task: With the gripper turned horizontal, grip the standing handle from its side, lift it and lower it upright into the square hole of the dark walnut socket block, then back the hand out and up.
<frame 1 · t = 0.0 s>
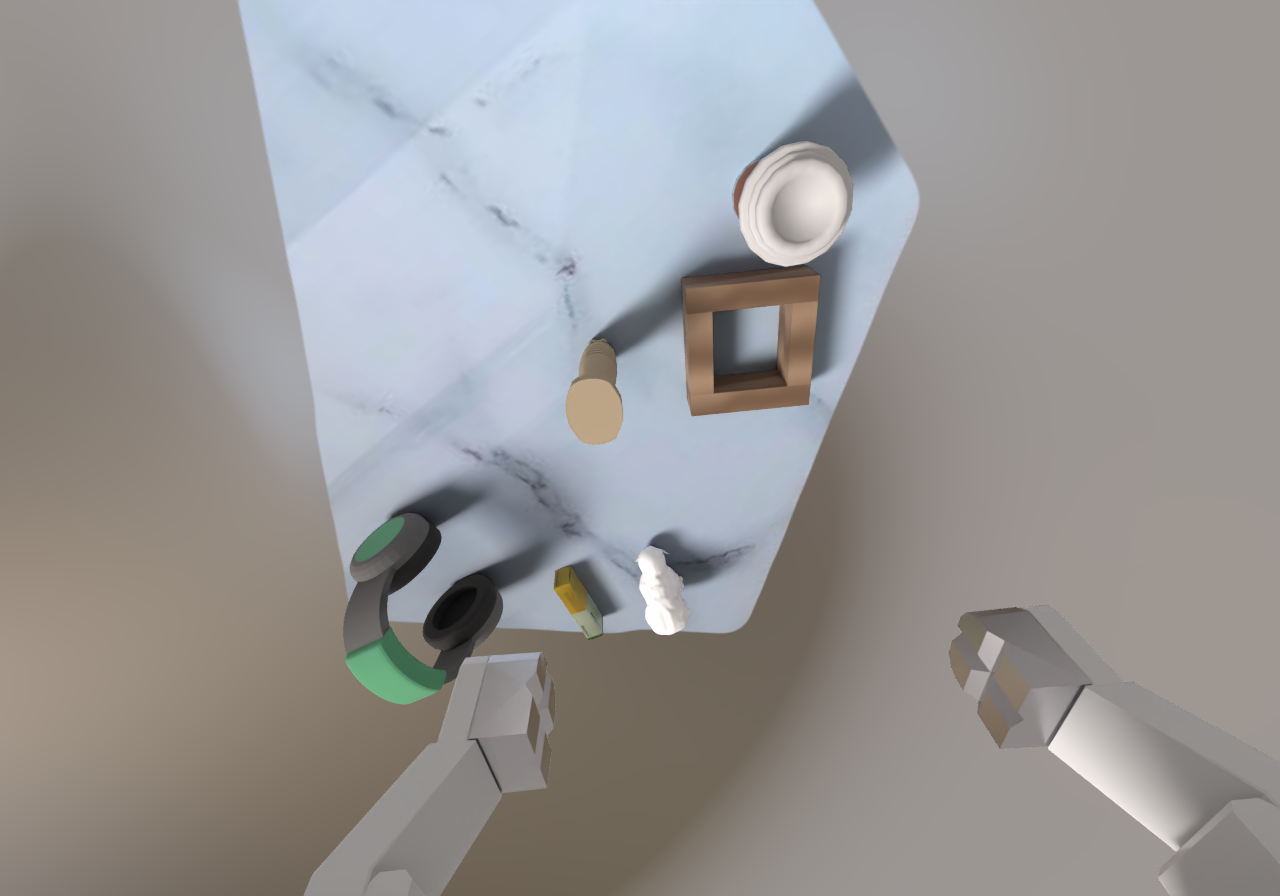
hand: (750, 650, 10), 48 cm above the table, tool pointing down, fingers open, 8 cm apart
coffee cup: (764, 194, 50), on the table
medication box: (580, 591, 77), on the table
headphones: (444, 555, 72), on the table
white lumpy rounded piece: (657, 565, 75), on the table
handle: (599, 350, 57), on the table
socket block: (742, 336, 57), on the table
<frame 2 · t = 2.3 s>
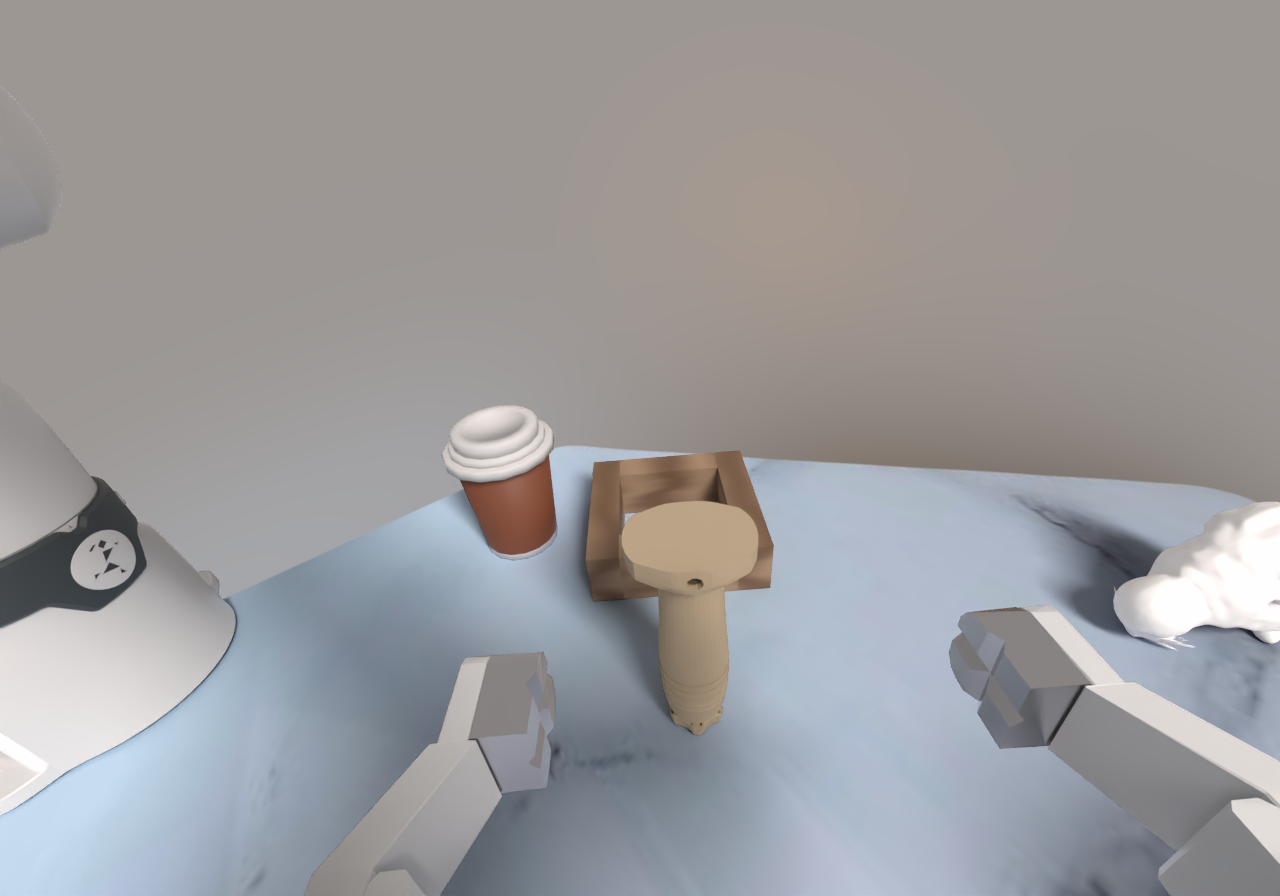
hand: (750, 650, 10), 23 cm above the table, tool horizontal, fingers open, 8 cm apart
coffee cup: (523, 536, 48), on the table
white lumpy rounded piece: (1182, 622, 35), on the table
handle: (695, 713, 32), on the table
socket block: (674, 538, 46), on the table
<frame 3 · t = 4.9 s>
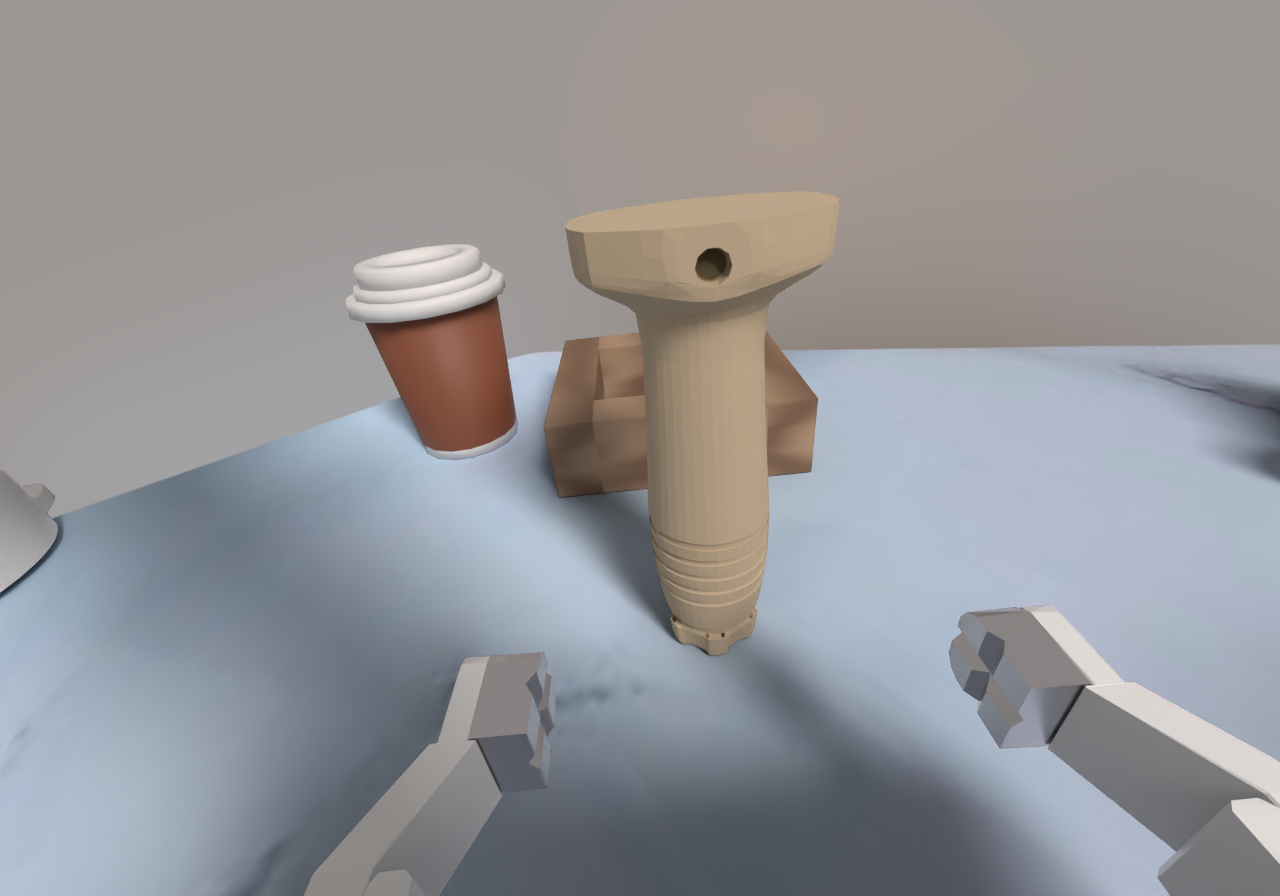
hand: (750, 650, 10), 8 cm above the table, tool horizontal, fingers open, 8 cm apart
coffee cup: (472, 437, 36), on the table
handle: (712, 627, 20), on the table
socket block: (673, 427, 34), on the table
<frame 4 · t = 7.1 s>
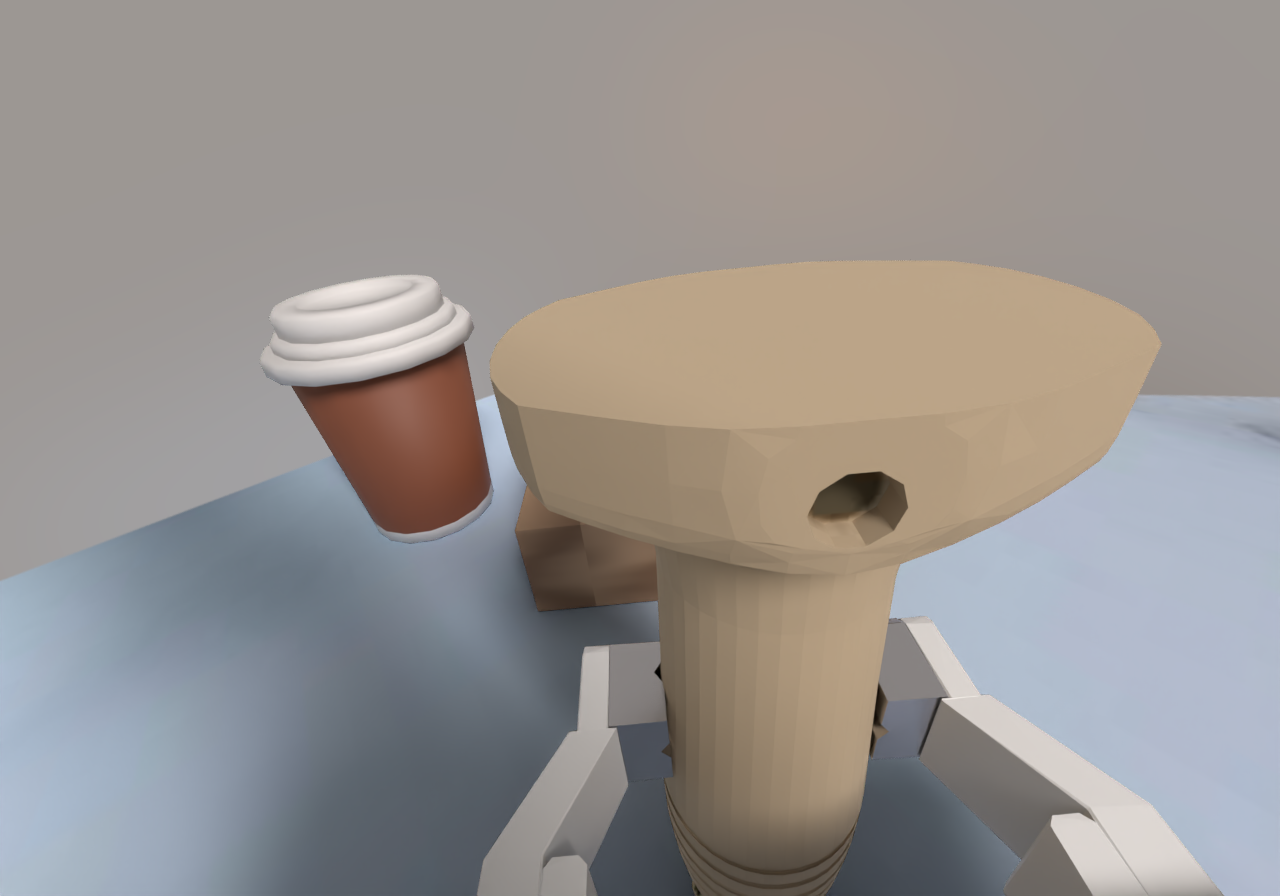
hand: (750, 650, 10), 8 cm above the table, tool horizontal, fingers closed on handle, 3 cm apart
coffee cup: (437, 507, 29), on the table
handle: (752, 875, 14), on the table, touching gripper
socket block: (684, 502, 27), on the table
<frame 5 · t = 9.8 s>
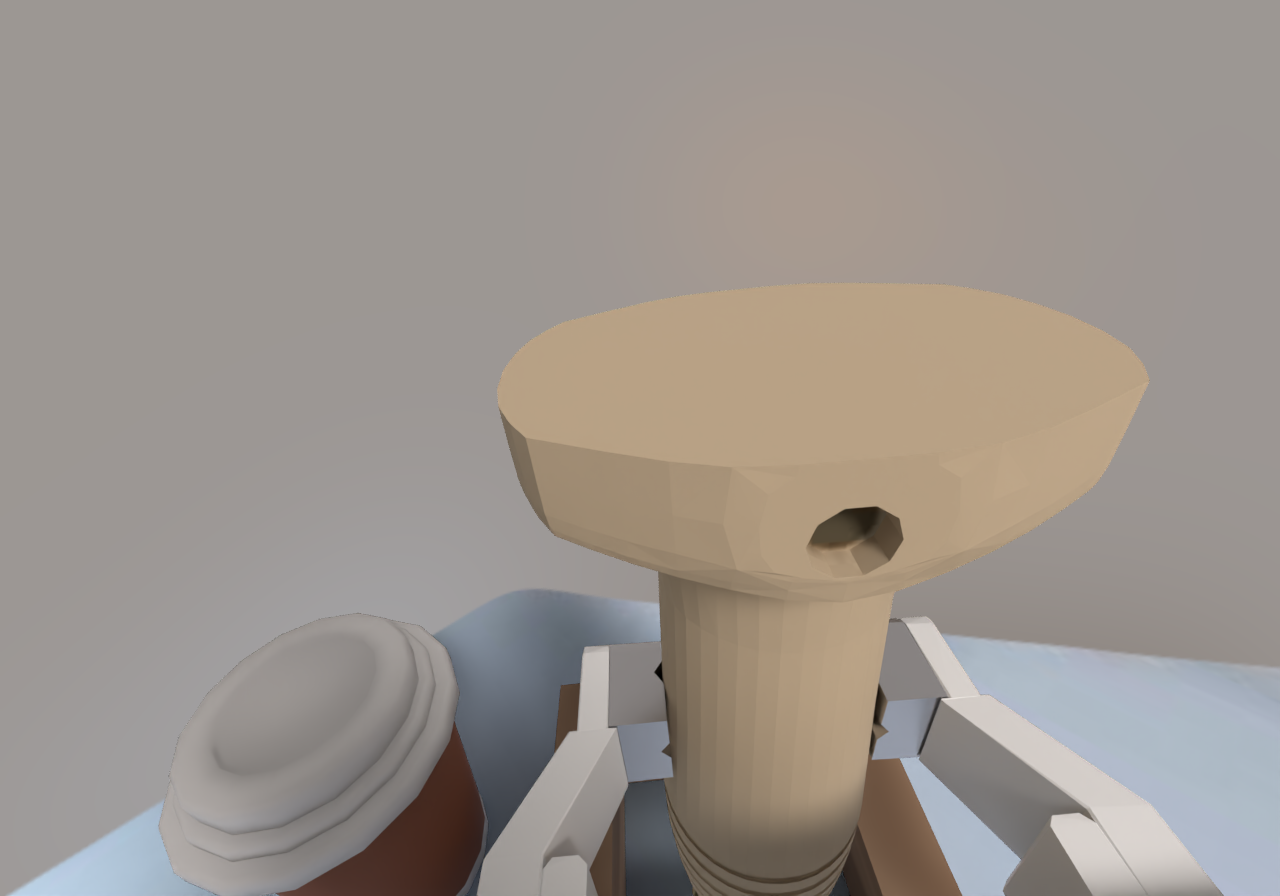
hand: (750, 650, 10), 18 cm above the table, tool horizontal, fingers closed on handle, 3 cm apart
coffee cup: (418, 853, 23), on the table
handle: (751, 881, 14), point 9 cm above the table, touching gripper
socket block: (733, 877, 21), on the table
when the fingers open (9 cm above the table, at t = 12.6 s): handle drops 1 cm, resting in socket block.
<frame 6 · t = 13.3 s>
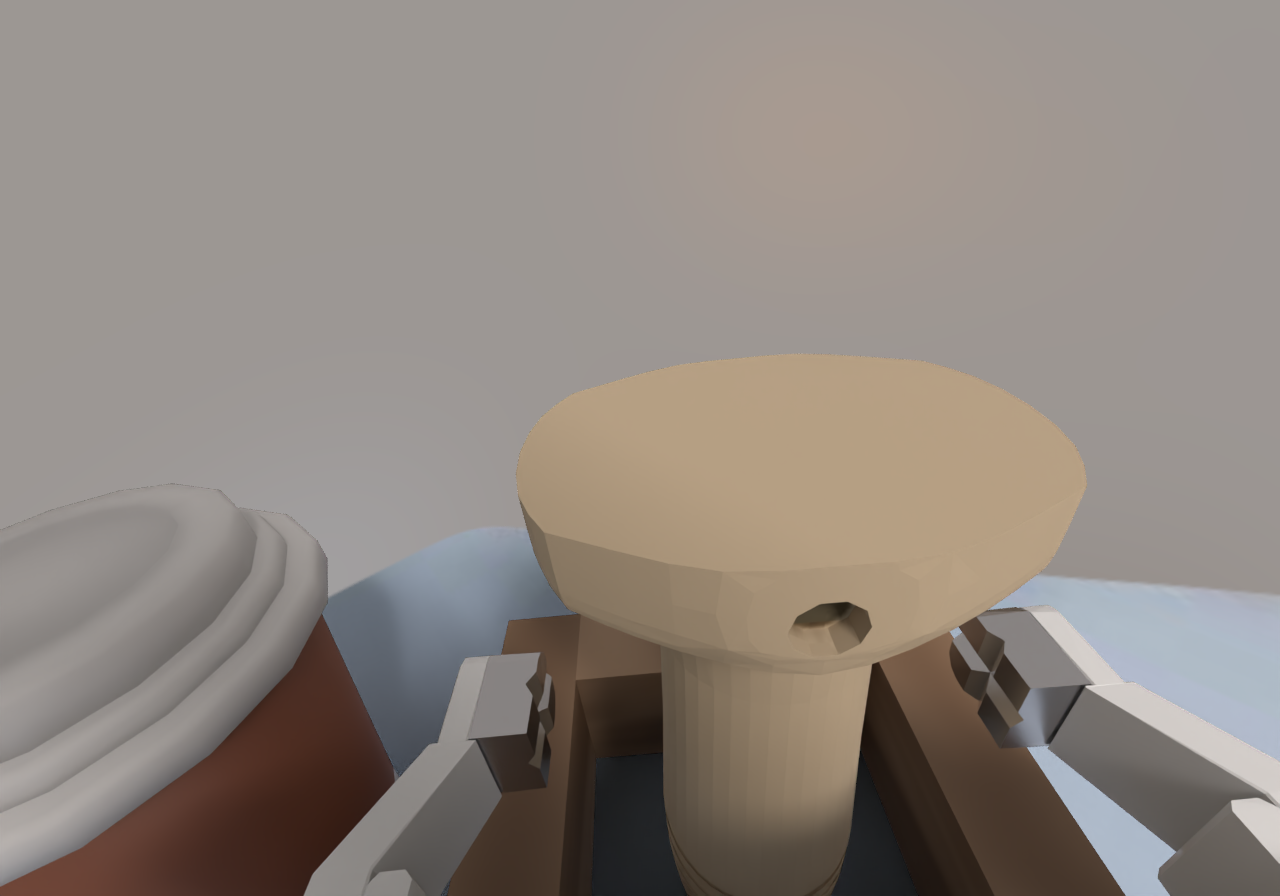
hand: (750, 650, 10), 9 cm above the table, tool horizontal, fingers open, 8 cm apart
coffee cup: (300, 853, 16), on the table
socket block: (750, 893, 14), on the table
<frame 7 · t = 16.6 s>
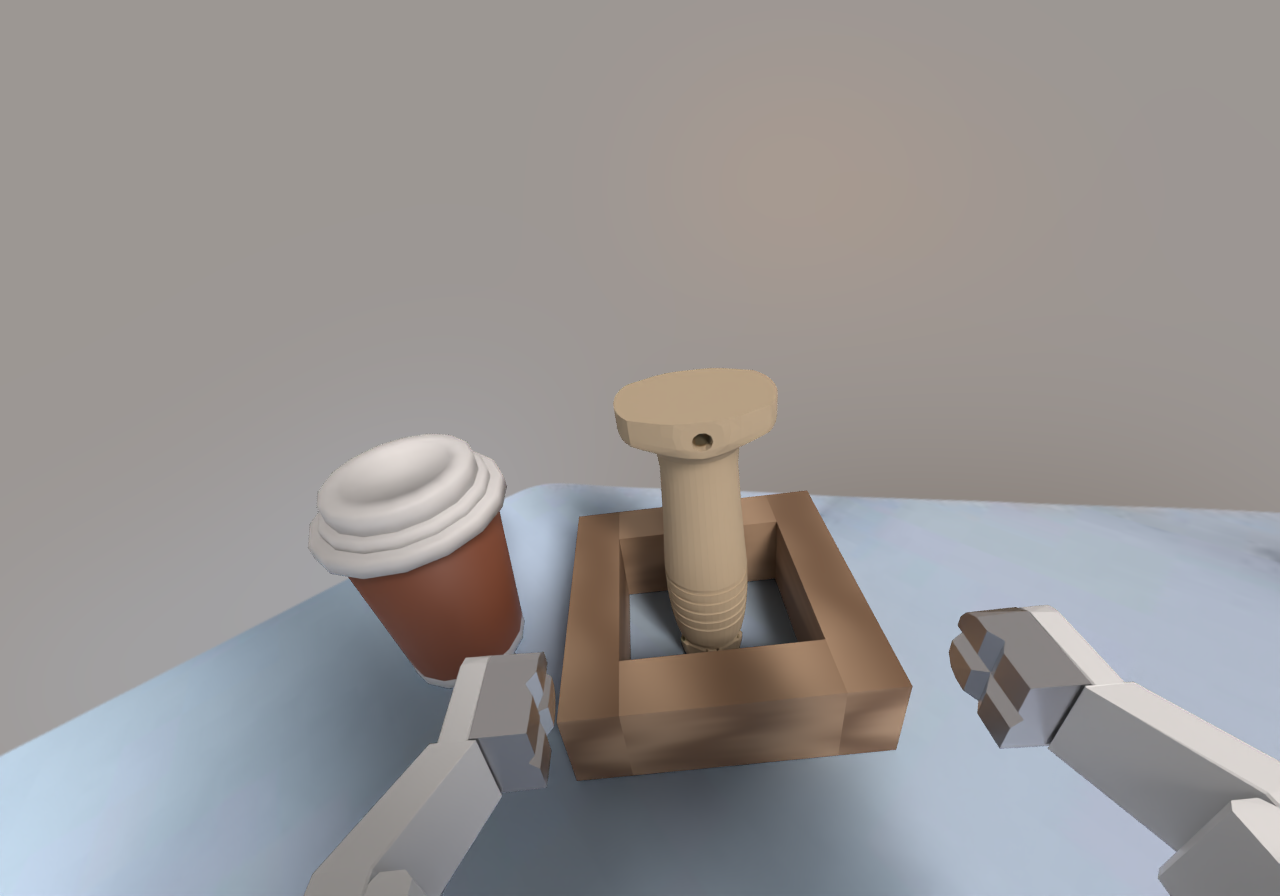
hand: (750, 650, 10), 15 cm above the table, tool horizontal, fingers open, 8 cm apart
coffee cup: (471, 640, 30), on the table
handle: (711, 644, 28), resting in socket block
socket block: (711, 641, 28), on the table
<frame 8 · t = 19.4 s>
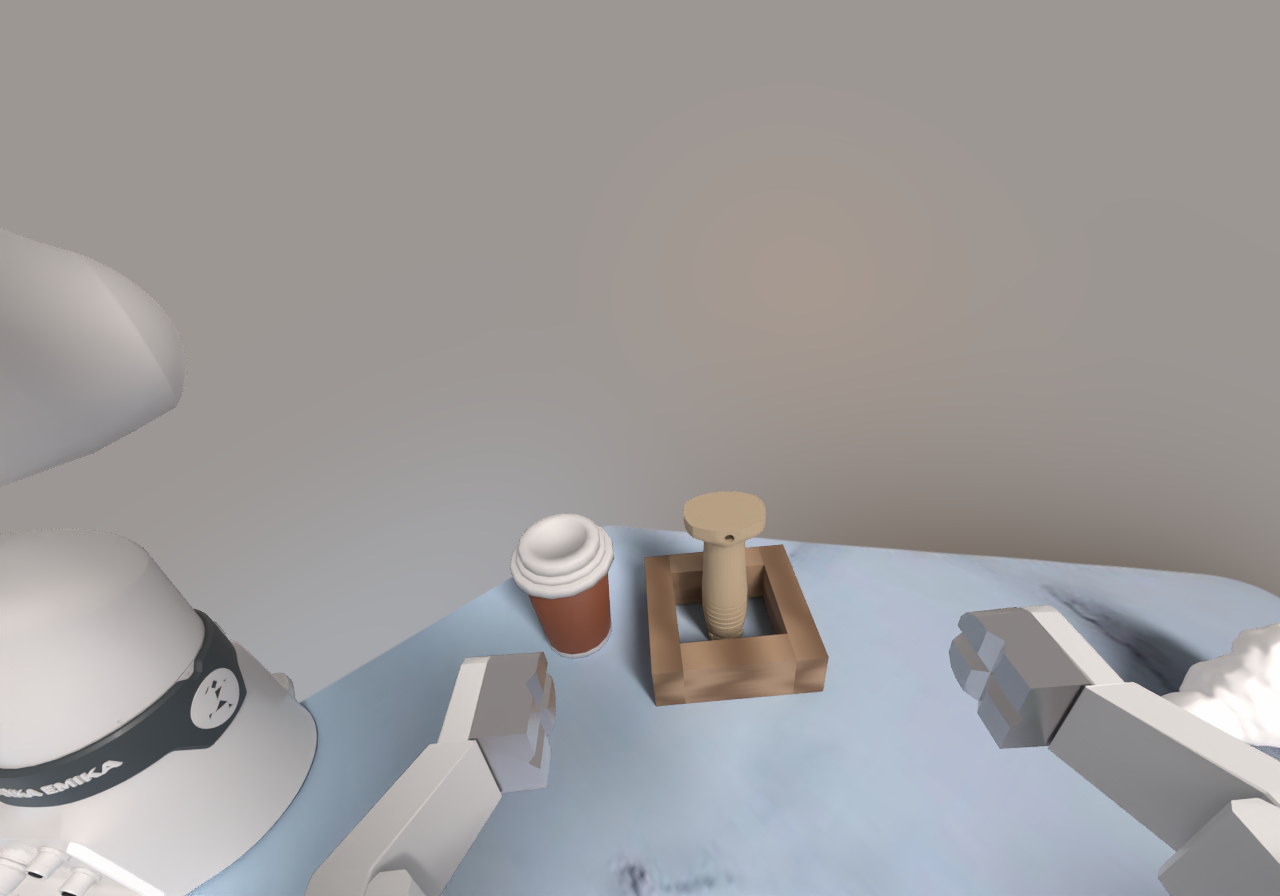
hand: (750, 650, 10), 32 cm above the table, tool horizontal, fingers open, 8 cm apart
coffee cup: (579, 631, 50), on the table
white lumpy rounded piece: (1214, 730, 38), on the table
handle: (724, 635, 48), resting in socket block
socket block: (725, 633, 48), on the table
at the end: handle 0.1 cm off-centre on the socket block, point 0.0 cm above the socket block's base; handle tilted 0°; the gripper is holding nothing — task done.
